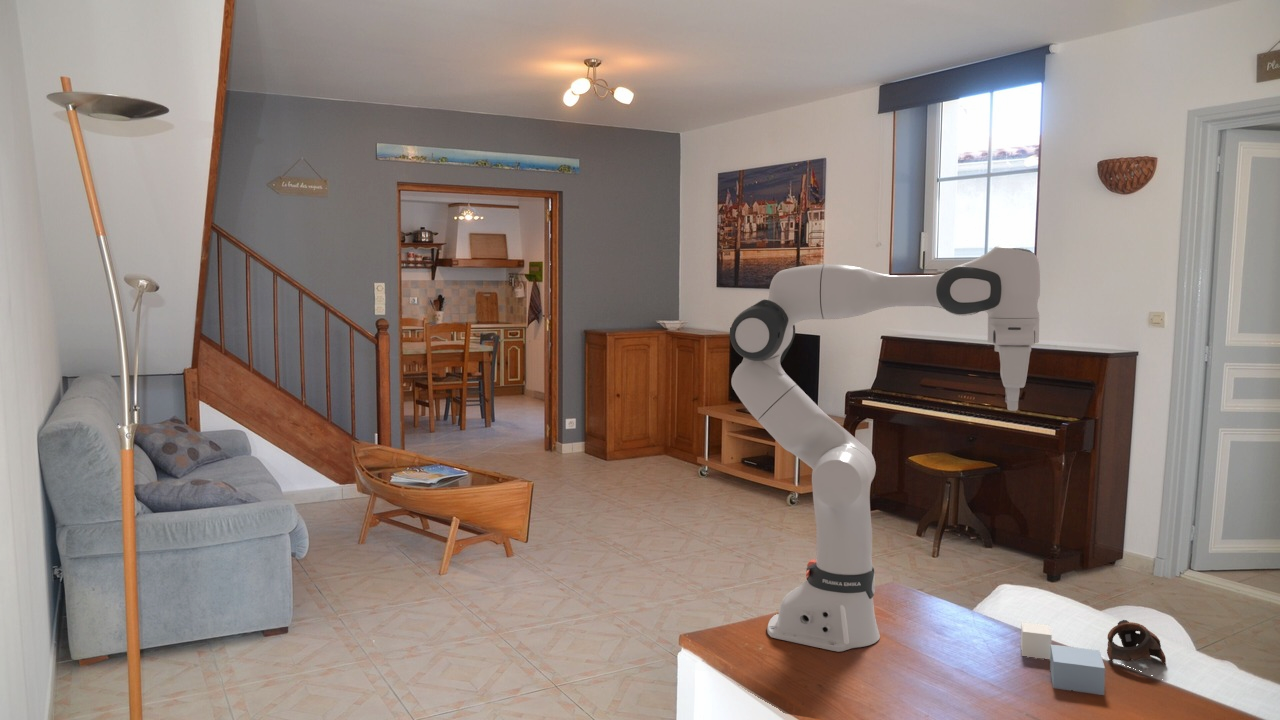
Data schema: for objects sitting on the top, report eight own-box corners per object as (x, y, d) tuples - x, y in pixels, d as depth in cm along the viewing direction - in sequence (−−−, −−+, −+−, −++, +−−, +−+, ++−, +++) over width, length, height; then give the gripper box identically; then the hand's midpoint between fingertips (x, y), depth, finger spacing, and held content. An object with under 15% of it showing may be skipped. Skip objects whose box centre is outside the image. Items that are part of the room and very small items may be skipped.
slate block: (1053, 689, 153) (1053, 661, 153) (1050, 670, 161) (1050, 644, 160) (1104, 696, 150) (1105, 668, 150) (1098, 677, 158) (1099, 650, 157)
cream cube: (1022, 657, 166) (1022, 631, 166) (1020, 647, 171) (1021, 622, 171) (1050, 660, 165) (1051, 635, 164) (1048, 650, 169) (1049, 625, 169)
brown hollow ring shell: (1180, 675, 159) (1165, 641, 157) (1128, 693, 161) (1113, 660, 159) (1148, 633, 170) (1134, 601, 168) (1100, 651, 172) (1085, 619, 170)
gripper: (993, 330, 173) (992, 399, 174) (995, 336, 154) (994, 413, 155) (1028, 331, 171) (1026, 401, 172) (1034, 336, 152) (1033, 415, 153)
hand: (1011, 407), depth 163 cm, fingers open, 8 cm apart
